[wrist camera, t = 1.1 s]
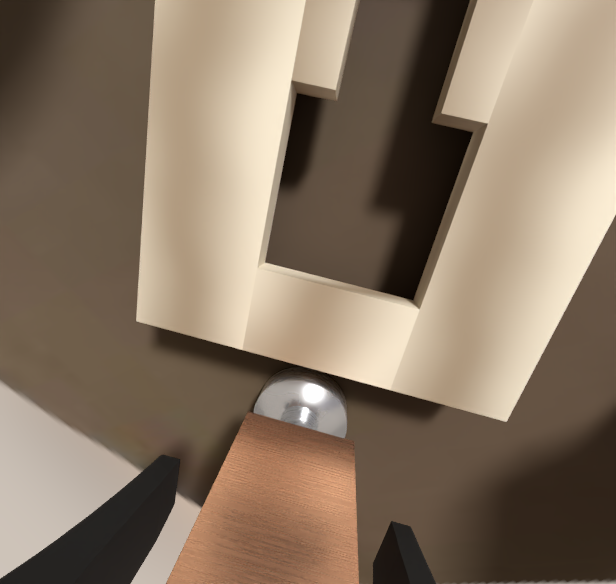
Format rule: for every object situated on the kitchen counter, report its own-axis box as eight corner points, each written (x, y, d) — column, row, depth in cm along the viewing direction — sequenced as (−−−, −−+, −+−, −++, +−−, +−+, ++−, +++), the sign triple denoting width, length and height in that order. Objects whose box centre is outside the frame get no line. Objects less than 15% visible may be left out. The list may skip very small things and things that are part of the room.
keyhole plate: (780, -296, 8) (1048, -607, 5) (472, 375, 13) (506, 421, 11) (247, -372, 8) (195, -680, 5) (178, 297, 14) (136, 321, 11)
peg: (357, 380, 14) (375, 661, 5) (334, 451, 16) (319, 770, 7) (268, 356, 14) (149, 589, 6) (253, 428, 16) (137, 707, 7)
